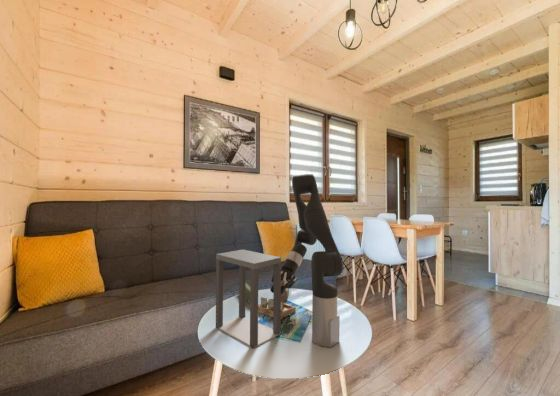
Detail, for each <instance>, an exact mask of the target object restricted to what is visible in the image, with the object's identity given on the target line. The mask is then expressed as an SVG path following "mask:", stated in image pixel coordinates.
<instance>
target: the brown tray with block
mask: <svg viewBox="0 0 560 396" xmlns="http://www.w3.org/2000/svg"><path fill="white" fill-rule="evenodd" d="M283 282H284V281H282V280H281V286H283ZM296 307H297V306H294V305H291V304H288V303H285V300H284V293H283V294H282V295H281V318H283V317H285V316H287V315H289V314H291V313H293V312H295V313H296V311H297V309H296ZM258 313H261V314H264V315H266V314H267V315H266V316H268V315H269V317H271V316H272V317H271V318H273V298H268V296H265V295H263V296H261V297H260V304H258ZM293 314H294V313H293ZM291 315H292V314H291ZM289 316H290V315H289ZM287 317H288V316H287ZM285 318H286V317H285ZM283 319H284V318H283Z"/></svg>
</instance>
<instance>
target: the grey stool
mask: <svg viewBox="0 0 560 396" xmlns="http://www.w3.org/2000/svg"><path fill="white" fill-rule="evenodd" d="M224 262H226V263H229V264H233V265H237V266H238V316H237V317H234V318H231V319H230V320H228V321H225V322H224V321H223V320H224V316H223V315H224ZM215 265H216V266H215V328H216V329H217V330H219V331H221V332H224V333H225V334H226V335H228V336H230V337H232V338H234V339H235V340H237V341H238V342H240V343H242V344H244V345H246V346H248V347H250V348H251V349H256V348H258V347H259V346H262V345H263V344H266V343H267V342H269V341H271V340H273V339H274V338H277V337H278V336H280V335H281V326H282V324H281V320H282V319H281V269H282V257H281V256H276V255H270V254H266V253H261V252H257V251H253V250H247V249H238V250H237V249H236V250H231V251H226V252H219V253H216V254H215ZM270 266H273V273H274V293H273V298H272V299H273V317H272V318H273V320H272V323H273V324H272V328H270V327H268V326H267V325H264V324H262V323H260V322H259V311H258V305H259V269H261V268H265V267H270ZM246 268H248V269H250V271H249V272H250V275H249V276H250V278H249V279H250V280H249V283H250V285H249V286H250V302H249V306H250V307H249V317H247V316H246V298H245V286H246V284H247V282H246V279H247V278H246V275H247V273H246V272H247V271H246ZM279 334H280V335H279ZM276 336H277V337H276Z"/></svg>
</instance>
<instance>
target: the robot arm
mask: <svg viewBox="0 0 560 396" xmlns="http://www.w3.org/2000/svg"><path fill="white" fill-rule="evenodd" d="M292 176H293V177H292V178H291V179H292V180H291V185H292V193H293V196H294V200H295V207H296V210H297V215H298V217H297V218H298V226H299V229H300V230H298V231H297V234H296V237H295V242H294V245H293V246H292V249H291V250H290V252H289V253H288V255H287V256H286V258H285V259H284V262H283V263H282V264H281V280H282V281H284V282H283V286H281V295H282V294H283V293H284V291H285V289H287V288H289V290H290V289H291V287H293V286H294V284H295V283H296V282H297V281H298V277H296V276H295V275H296V273H297V271H298V270H299V268H300V267H301V264H302V262H303V259H304V257H305V255H306V254H307V250H308V249H307V247H306V246H305V245H308V246H314V245H315V244H316V242H317V241H318V242H319V243H320V244H321V245H322V247H323V249H324V250H323V251H314V252H313V253H312V255H311V261H310V262H311V288H312V302H311V303H312V305H311V306H312V307H311V308H312V309H311V310H312V311H311V312H312V313H311V315H312V316H311V318H312V319H311V320H312V322H311V331H312V332H311V333H312V334H311V340H312V342H313V343H314V344H315V345H318V346H319V347H326V348H332V347H334V346H336V344H338V343H339V342H340V323H341V322H340V320H341V319H340V315H338V288H337V286H336V285H335V284H332V283H329V282H325V280H324V277H327V278H328V277H337V276H340V275H342V273H343V269H344V267H343V266H344V265H343V260H342V257H341V254H340V252H339V251H340V250H339V249H338V246H337V243H336V242H335V239H334V237H333V234H332V231H331V229H330V225H329V221H328V218H327V215H326V212H325V210H324V207H323V203H322V201H321V198H320V194H319V188H318V185H317V181H316V177H315V176H314V174H313V173H304V174H297V175H292ZM305 194H310V198H309V200H308V202H307V203H305V202H304V200H303V199H302V196H301V195H305ZM304 244H305V245H304ZM271 282H272V285H271V287H270V292H271V293H273V294H274V272H273V274H272V277H271Z"/></svg>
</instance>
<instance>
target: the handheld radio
mask: <svg viewBox="0 0 560 396" xmlns="http://www.w3.org/2000/svg"><path fill="white" fill-rule="evenodd" d="M245 300H247V302H249V303H250V285H249V284H248V283H246V286H245Z"/></svg>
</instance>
